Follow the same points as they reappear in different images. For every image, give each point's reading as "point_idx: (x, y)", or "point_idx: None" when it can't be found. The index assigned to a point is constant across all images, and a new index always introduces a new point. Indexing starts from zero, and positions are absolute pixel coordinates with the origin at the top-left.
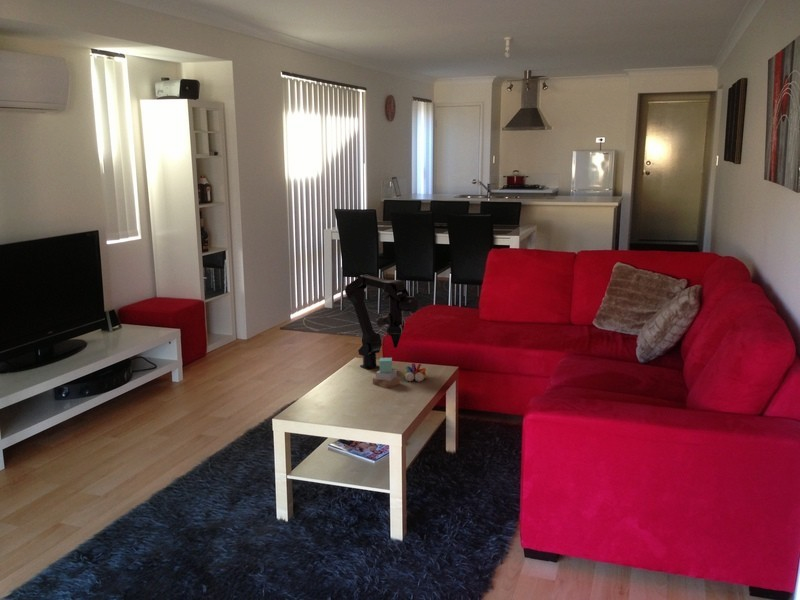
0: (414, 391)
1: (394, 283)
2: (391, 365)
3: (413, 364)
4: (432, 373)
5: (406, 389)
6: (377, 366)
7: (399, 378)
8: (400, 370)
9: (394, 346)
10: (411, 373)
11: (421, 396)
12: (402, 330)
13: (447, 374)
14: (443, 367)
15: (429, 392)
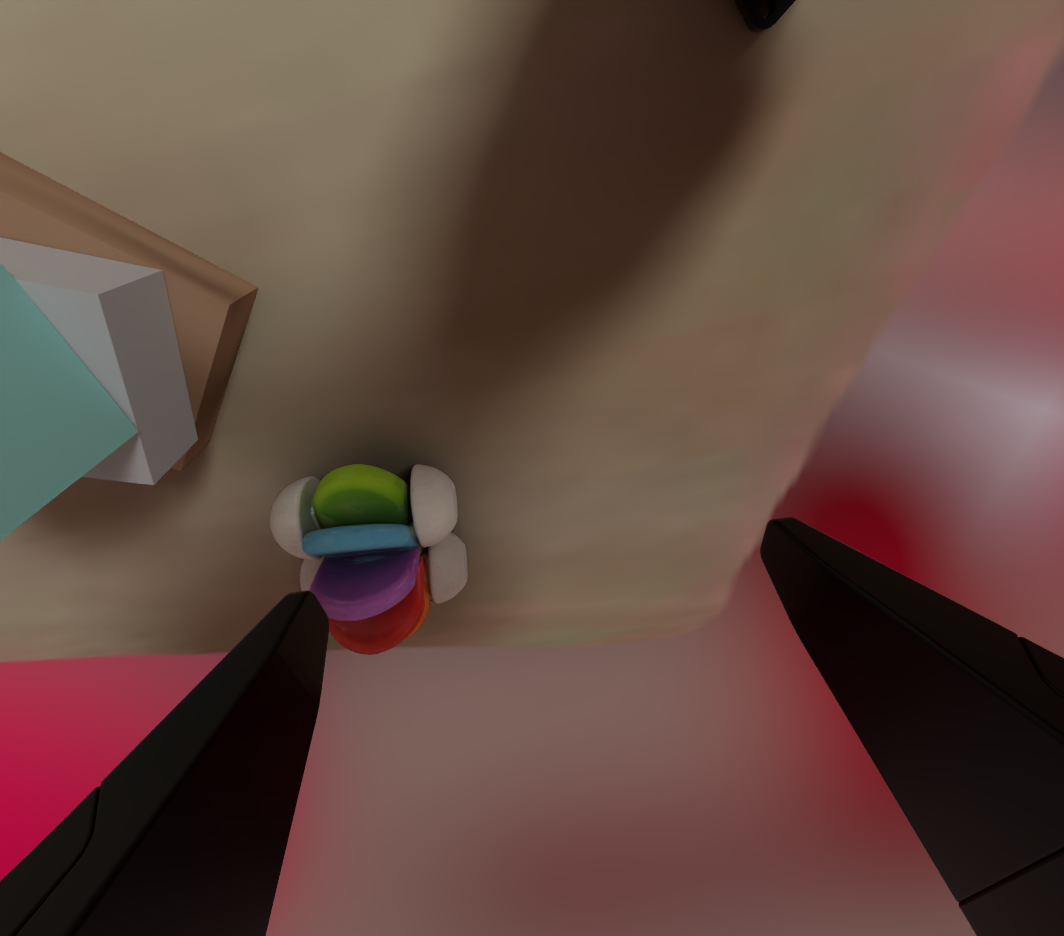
0: (92, 572)
1: None
2: None
3: (331, 618)
4: (556, 576)
5: (94, 519)
6: (743, 4)
7: (178, 467)
8: (618, 352)
9: (276, 620)
10: (296, 556)
11: (24, 624)
12: (976, 929)
13: (546, 639)
14: (694, 598)
15: (143, 639)
